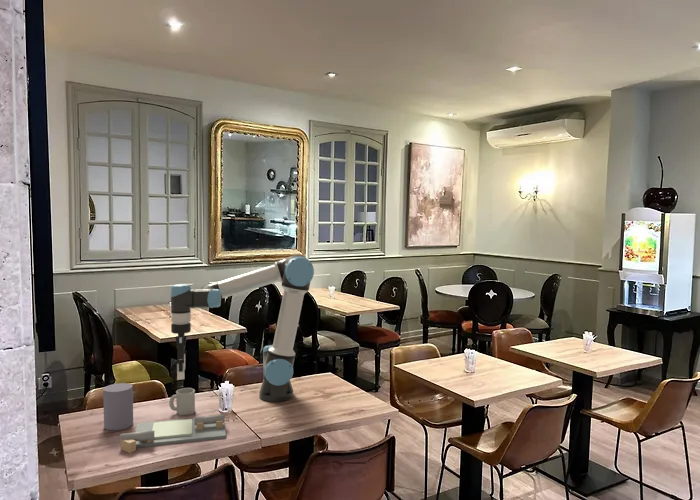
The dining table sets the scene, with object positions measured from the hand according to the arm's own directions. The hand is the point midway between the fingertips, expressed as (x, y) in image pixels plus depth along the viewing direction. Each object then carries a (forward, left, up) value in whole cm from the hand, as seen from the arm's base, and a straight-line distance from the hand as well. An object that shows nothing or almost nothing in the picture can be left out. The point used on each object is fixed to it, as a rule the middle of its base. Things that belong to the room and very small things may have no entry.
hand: (181, 374), depth 218 cm
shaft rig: (+2, +22, -16) cm, 27 cm away
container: (+23, +8, -16) cm, 29 cm away
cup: (0, 0, -16) cm, 16 cm away
